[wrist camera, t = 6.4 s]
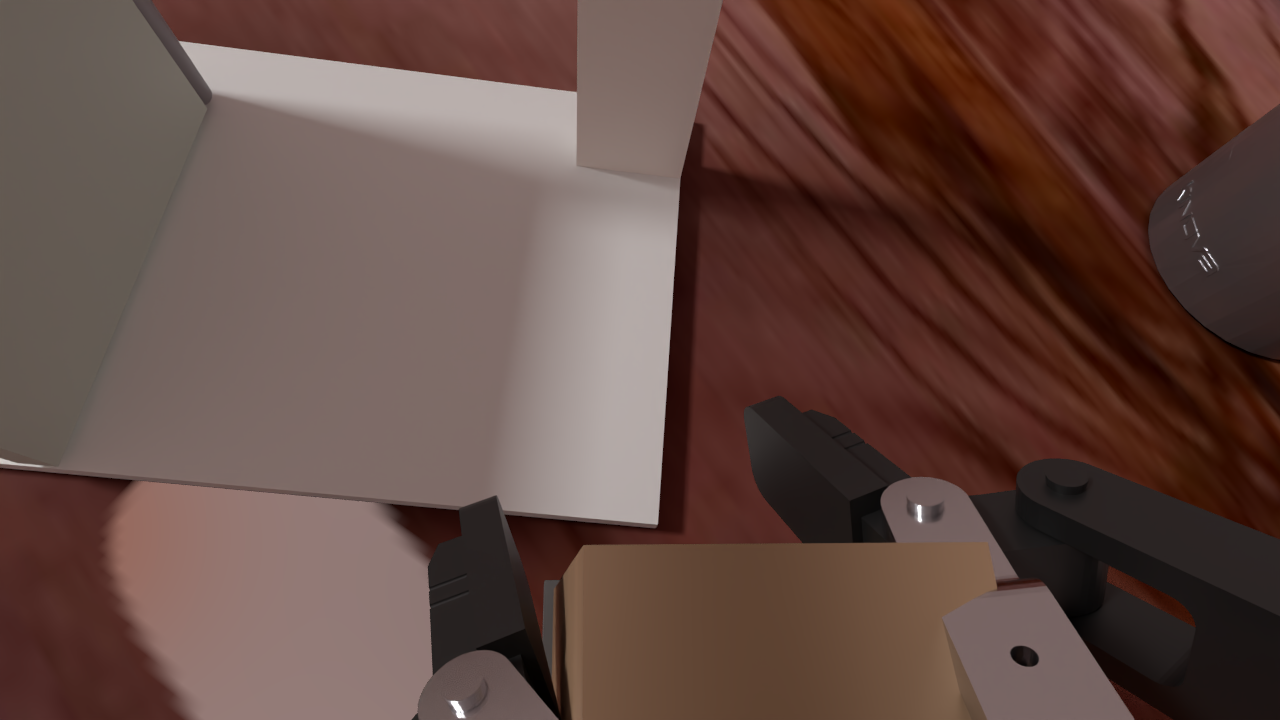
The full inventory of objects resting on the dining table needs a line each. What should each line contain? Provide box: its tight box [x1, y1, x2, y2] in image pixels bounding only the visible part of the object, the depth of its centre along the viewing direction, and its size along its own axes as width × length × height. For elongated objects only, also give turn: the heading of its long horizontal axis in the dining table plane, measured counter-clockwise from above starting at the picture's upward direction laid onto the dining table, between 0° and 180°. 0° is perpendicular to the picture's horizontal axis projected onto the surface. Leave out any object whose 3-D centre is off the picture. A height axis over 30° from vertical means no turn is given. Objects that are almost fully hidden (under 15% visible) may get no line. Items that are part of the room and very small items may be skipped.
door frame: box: [0, 0, 723, 528], centre depth 18 cm, size 23×18×16 cm
